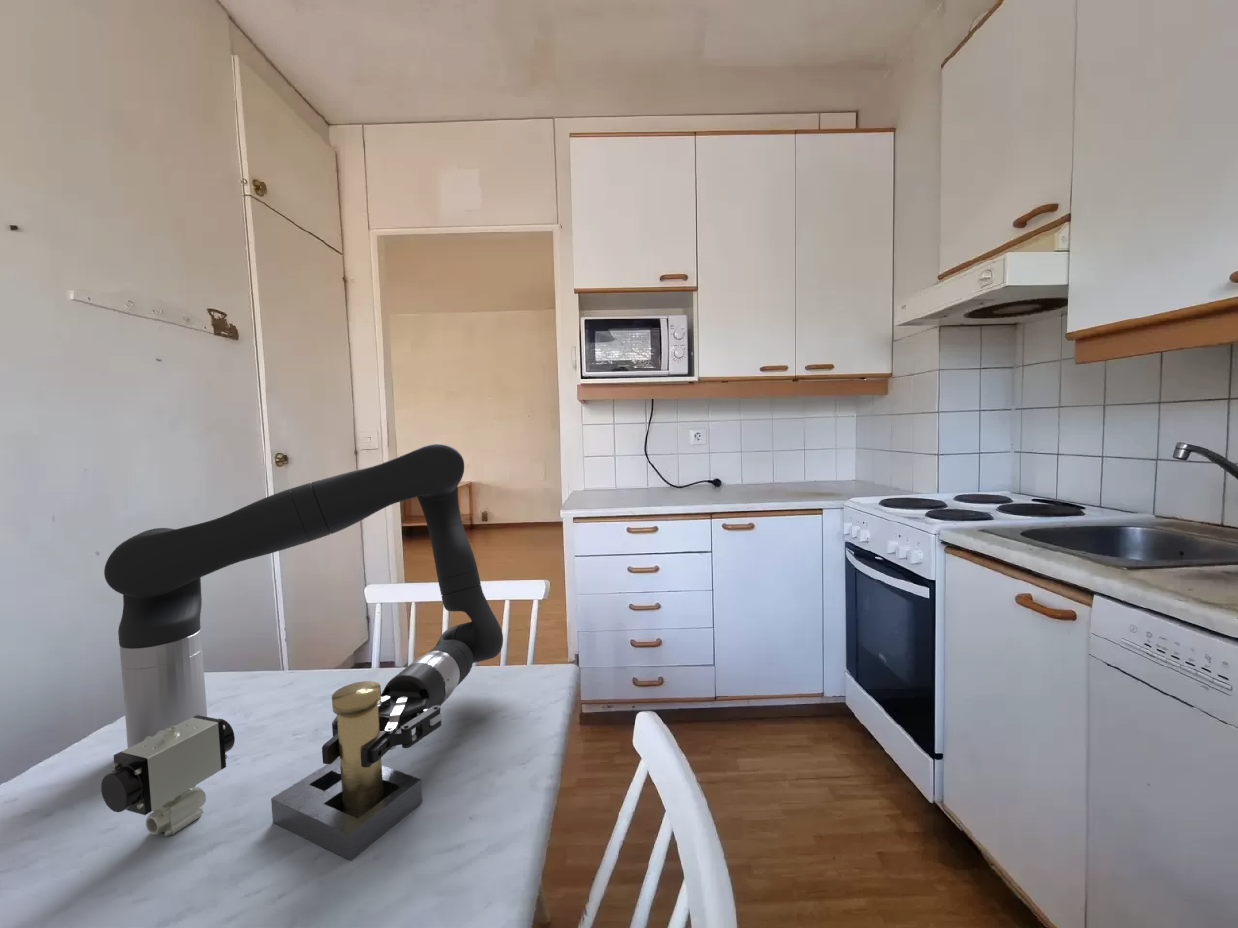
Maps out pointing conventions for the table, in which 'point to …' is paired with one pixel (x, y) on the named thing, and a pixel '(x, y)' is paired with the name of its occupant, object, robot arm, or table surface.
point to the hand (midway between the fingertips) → (345, 757)
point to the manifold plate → (320, 810)
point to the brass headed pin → (358, 745)
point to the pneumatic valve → (169, 773)
